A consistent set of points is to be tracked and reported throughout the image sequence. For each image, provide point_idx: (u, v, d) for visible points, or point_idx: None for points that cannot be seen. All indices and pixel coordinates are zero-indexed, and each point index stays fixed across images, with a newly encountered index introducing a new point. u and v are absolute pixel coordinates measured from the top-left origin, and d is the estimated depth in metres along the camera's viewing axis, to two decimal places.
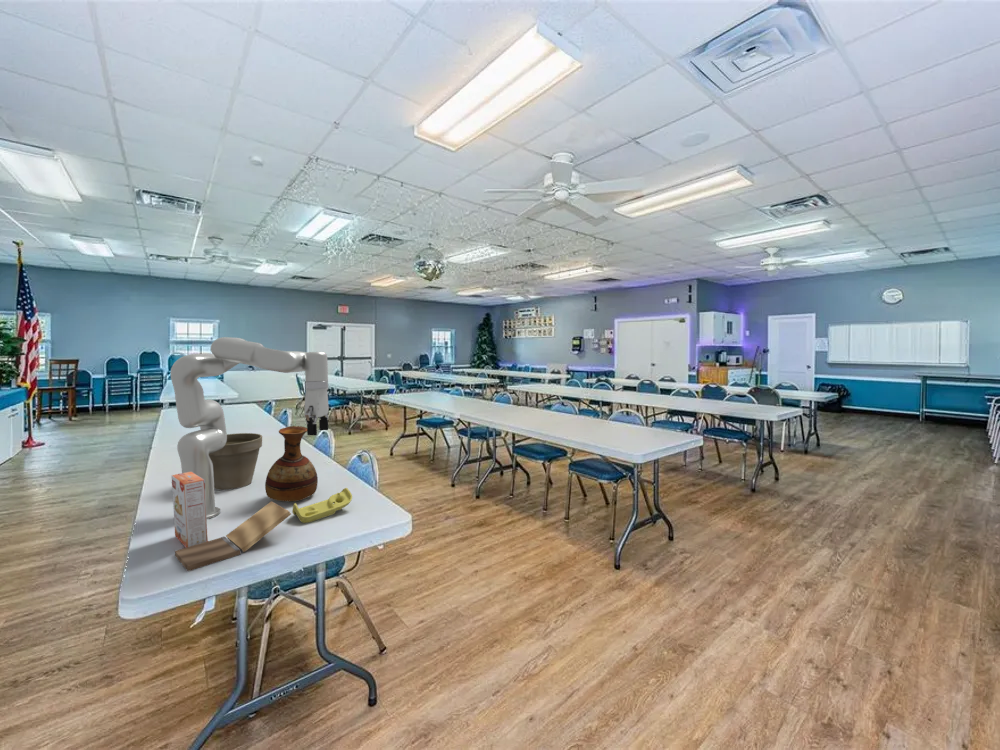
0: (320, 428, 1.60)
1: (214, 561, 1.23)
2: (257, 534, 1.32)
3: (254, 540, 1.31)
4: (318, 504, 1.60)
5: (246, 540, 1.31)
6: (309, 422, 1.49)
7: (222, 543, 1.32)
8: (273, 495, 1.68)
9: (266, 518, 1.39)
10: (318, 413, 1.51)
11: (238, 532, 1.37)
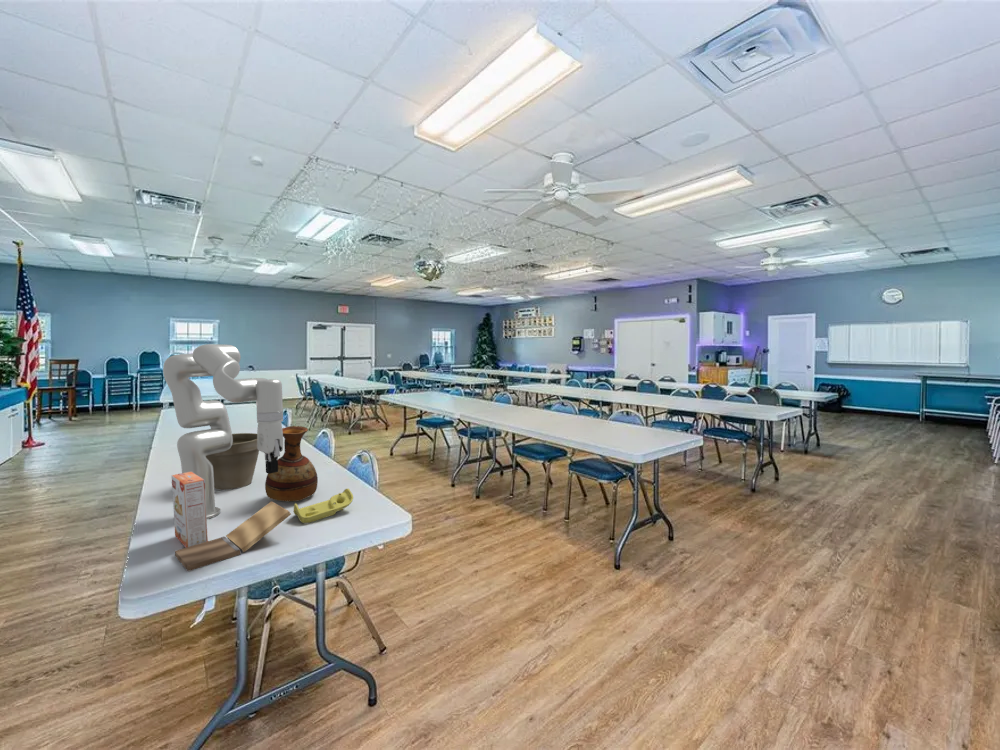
0: None
1: (214, 561, 1.23)
2: (257, 534, 1.32)
3: (254, 540, 1.31)
4: (319, 504, 1.60)
5: (246, 540, 1.31)
6: (274, 459, 1.39)
7: (222, 543, 1.32)
8: (273, 495, 1.68)
9: (266, 518, 1.39)
10: None
11: (238, 532, 1.37)
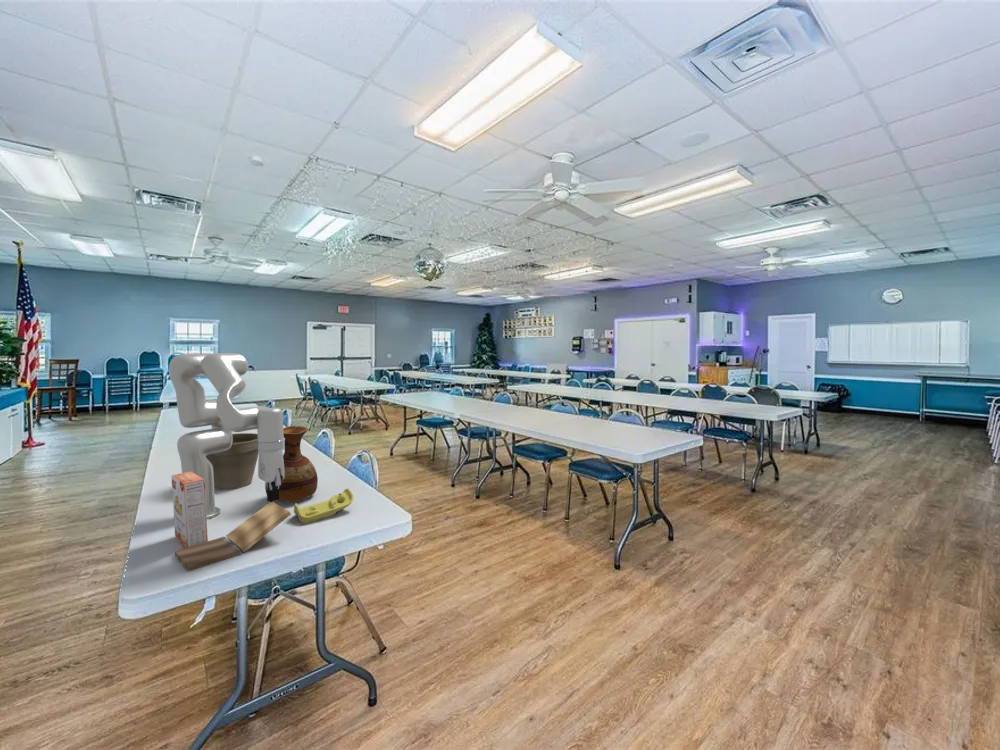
0: None
1: (214, 561, 1.23)
2: (257, 534, 1.32)
3: (254, 540, 1.31)
4: (319, 504, 1.60)
5: (246, 540, 1.31)
6: (275, 487, 1.39)
7: (222, 543, 1.32)
8: None
9: (266, 518, 1.39)
10: None
11: (238, 532, 1.37)
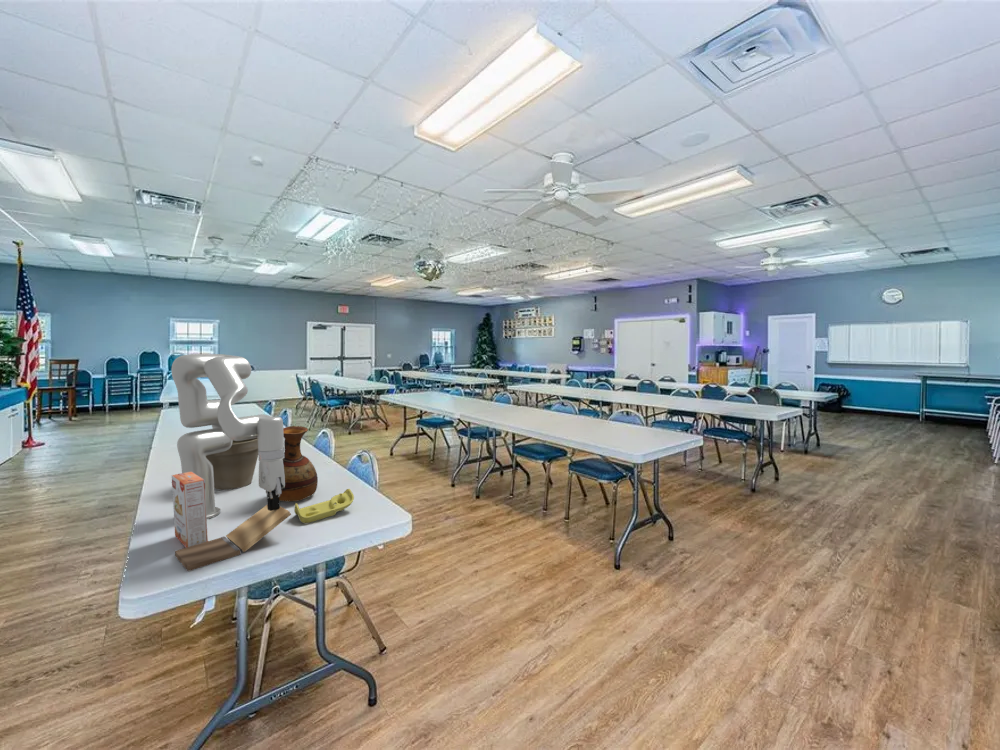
0: None
1: (214, 561, 1.23)
2: (257, 534, 1.32)
3: (254, 540, 1.31)
4: (320, 504, 1.60)
5: (246, 540, 1.31)
6: (275, 496, 1.39)
7: (222, 543, 1.32)
8: None
9: (266, 518, 1.39)
10: None
11: (238, 532, 1.37)
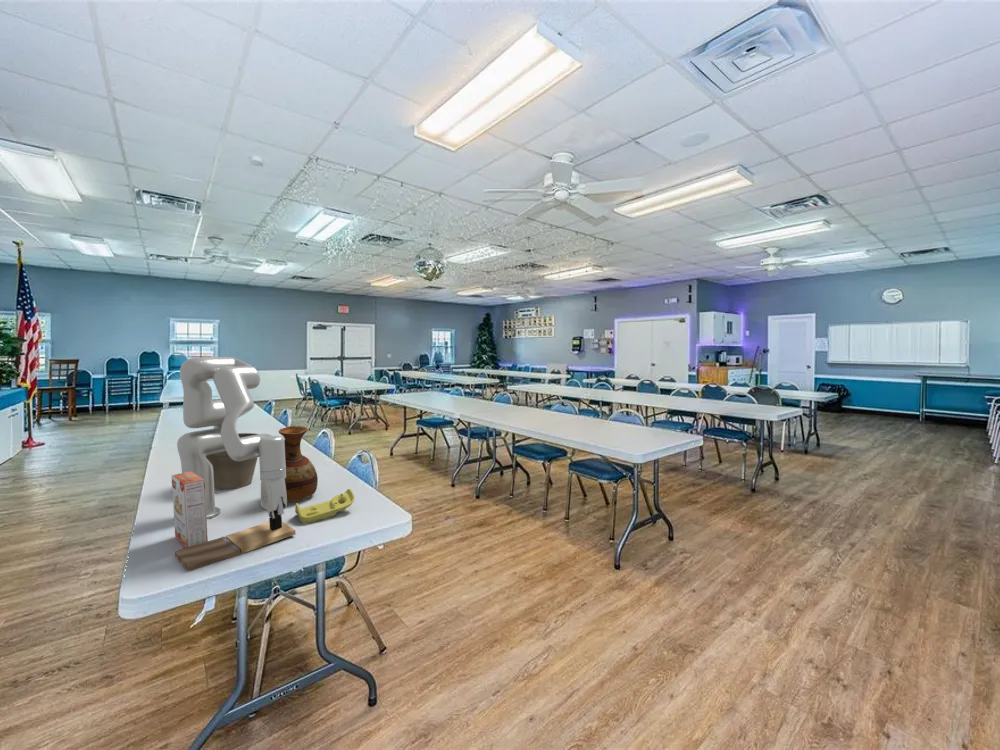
0: None
1: (214, 561, 1.23)
2: (260, 541, 1.32)
3: (255, 545, 1.31)
4: (320, 504, 1.59)
5: (248, 544, 1.31)
6: (278, 515, 1.40)
7: (222, 543, 1.32)
8: None
9: (271, 530, 1.40)
10: None
11: (240, 535, 1.37)
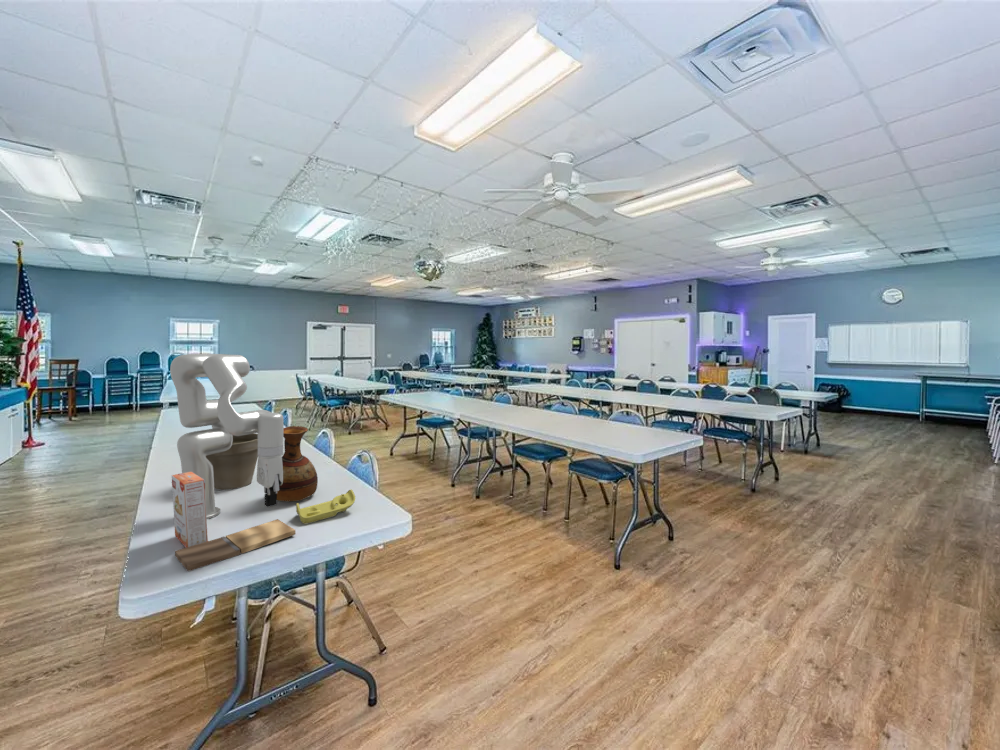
0: None
1: (214, 561, 1.23)
2: (260, 541, 1.32)
3: (255, 545, 1.31)
4: (321, 505, 1.59)
5: (248, 544, 1.31)
6: (273, 492, 1.40)
7: (222, 543, 1.32)
8: None
9: (271, 530, 1.40)
10: None
11: (240, 535, 1.37)
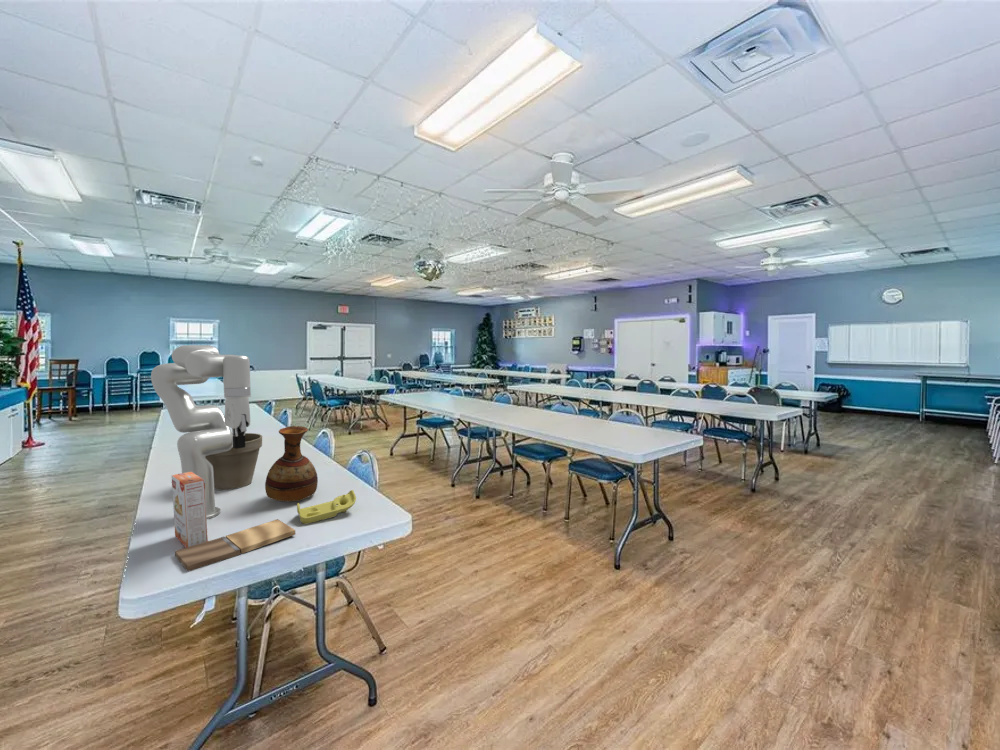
0: None
1: (214, 561, 1.23)
2: (260, 541, 1.32)
3: (255, 545, 1.31)
4: (322, 505, 1.59)
5: (248, 544, 1.31)
6: (241, 434, 1.40)
7: (222, 543, 1.32)
8: (273, 495, 1.68)
9: (271, 530, 1.40)
10: None
11: (240, 535, 1.37)
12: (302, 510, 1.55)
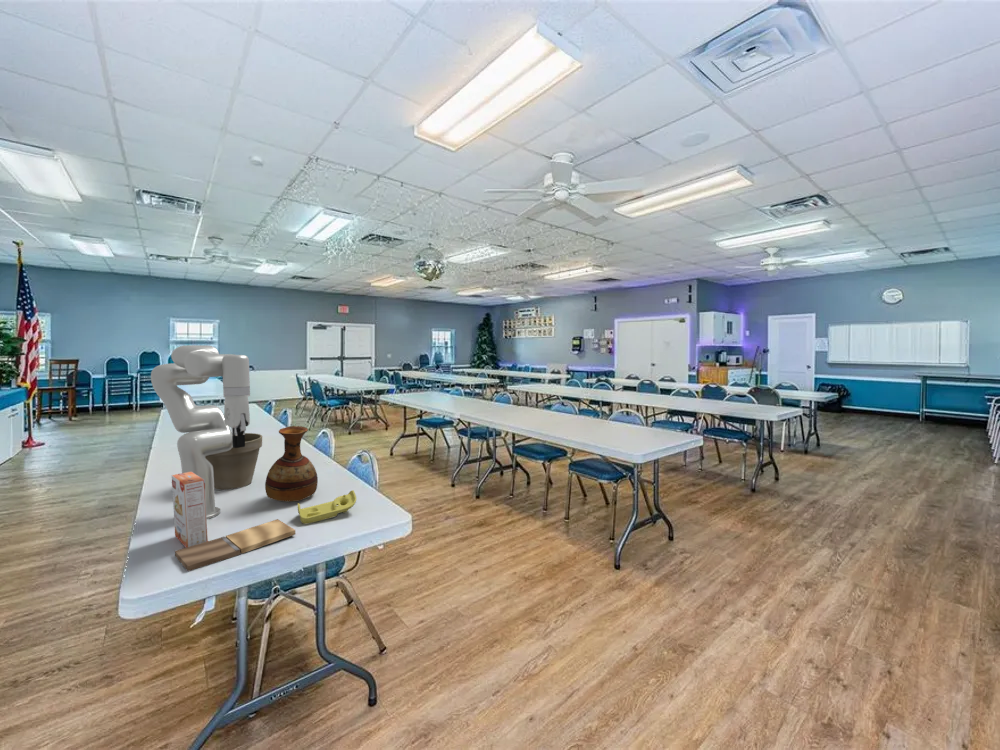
0: None
1: (214, 561, 1.23)
2: (260, 541, 1.32)
3: (255, 545, 1.31)
4: (322, 505, 1.59)
5: (248, 544, 1.31)
6: (240, 433, 1.40)
7: (222, 543, 1.32)
8: (273, 495, 1.68)
9: (271, 530, 1.40)
10: None
11: (240, 535, 1.37)
12: (302, 510, 1.55)
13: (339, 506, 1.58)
